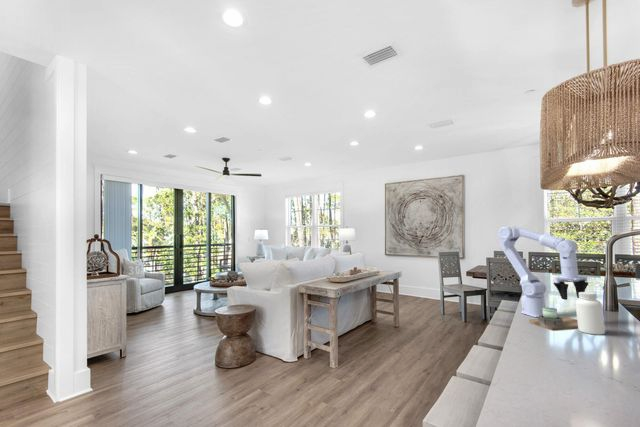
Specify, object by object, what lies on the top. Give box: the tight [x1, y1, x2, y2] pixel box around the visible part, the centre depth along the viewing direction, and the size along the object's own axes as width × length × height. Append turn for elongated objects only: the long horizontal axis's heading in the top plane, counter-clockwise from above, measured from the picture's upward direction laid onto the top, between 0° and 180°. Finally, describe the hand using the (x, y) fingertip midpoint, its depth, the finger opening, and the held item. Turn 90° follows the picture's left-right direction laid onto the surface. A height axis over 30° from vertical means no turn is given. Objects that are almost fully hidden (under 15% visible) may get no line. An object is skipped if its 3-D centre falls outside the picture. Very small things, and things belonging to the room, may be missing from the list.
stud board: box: [528, 315, 578, 331], centre depth 132 cm, size 12×18×4 cm, turn 96°
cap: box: [542, 306, 558, 320], centre depth 130 cm, size 5×5×4 cm
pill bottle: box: [575, 291, 606, 335], centre depth 122 cm, size 8×8×15 cm
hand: (572, 298), depth 135 cm, fingers open, 7 cm apart
